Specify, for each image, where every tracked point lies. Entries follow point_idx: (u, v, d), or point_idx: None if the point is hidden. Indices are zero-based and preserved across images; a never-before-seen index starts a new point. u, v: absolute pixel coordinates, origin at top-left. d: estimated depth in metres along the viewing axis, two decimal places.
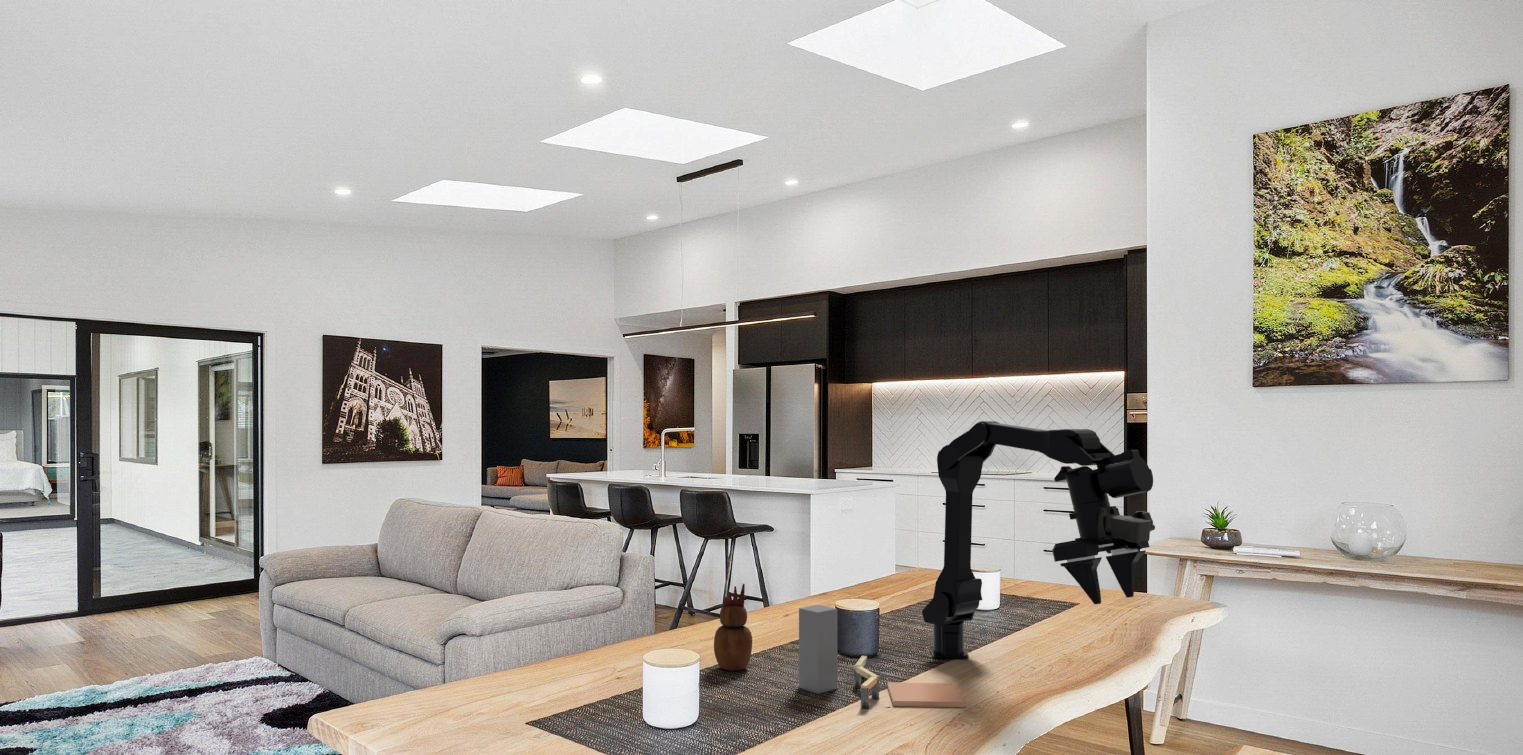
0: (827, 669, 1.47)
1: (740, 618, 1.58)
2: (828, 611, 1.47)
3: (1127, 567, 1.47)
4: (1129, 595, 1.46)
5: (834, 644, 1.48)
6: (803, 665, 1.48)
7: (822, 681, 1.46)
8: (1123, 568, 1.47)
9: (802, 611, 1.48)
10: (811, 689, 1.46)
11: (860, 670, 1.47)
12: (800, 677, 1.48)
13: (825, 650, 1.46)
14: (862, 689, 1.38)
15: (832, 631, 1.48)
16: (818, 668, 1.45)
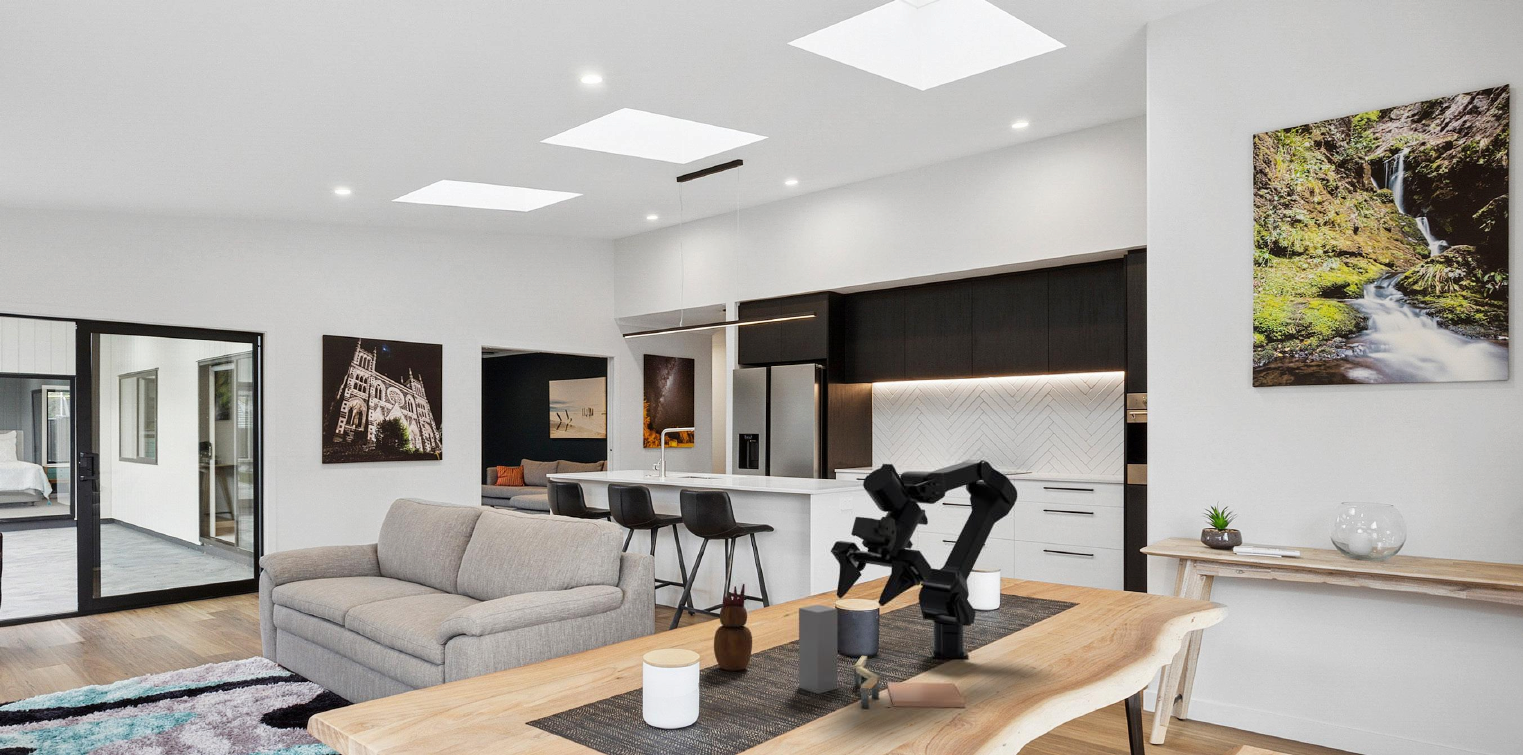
0: (827, 669, 1.47)
1: (740, 618, 1.58)
2: (828, 611, 1.47)
3: None
4: (880, 603, 1.50)
5: (834, 644, 1.48)
6: (803, 665, 1.48)
7: (822, 681, 1.46)
8: None
9: (802, 611, 1.48)
10: (811, 689, 1.46)
11: (860, 670, 1.47)
12: (800, 677, 1.48)
13: (825, 650, 1.46)
14: (862, 689, 1.38)
15: (832, 631, 1.48)
16: (818, 668, 1.45)
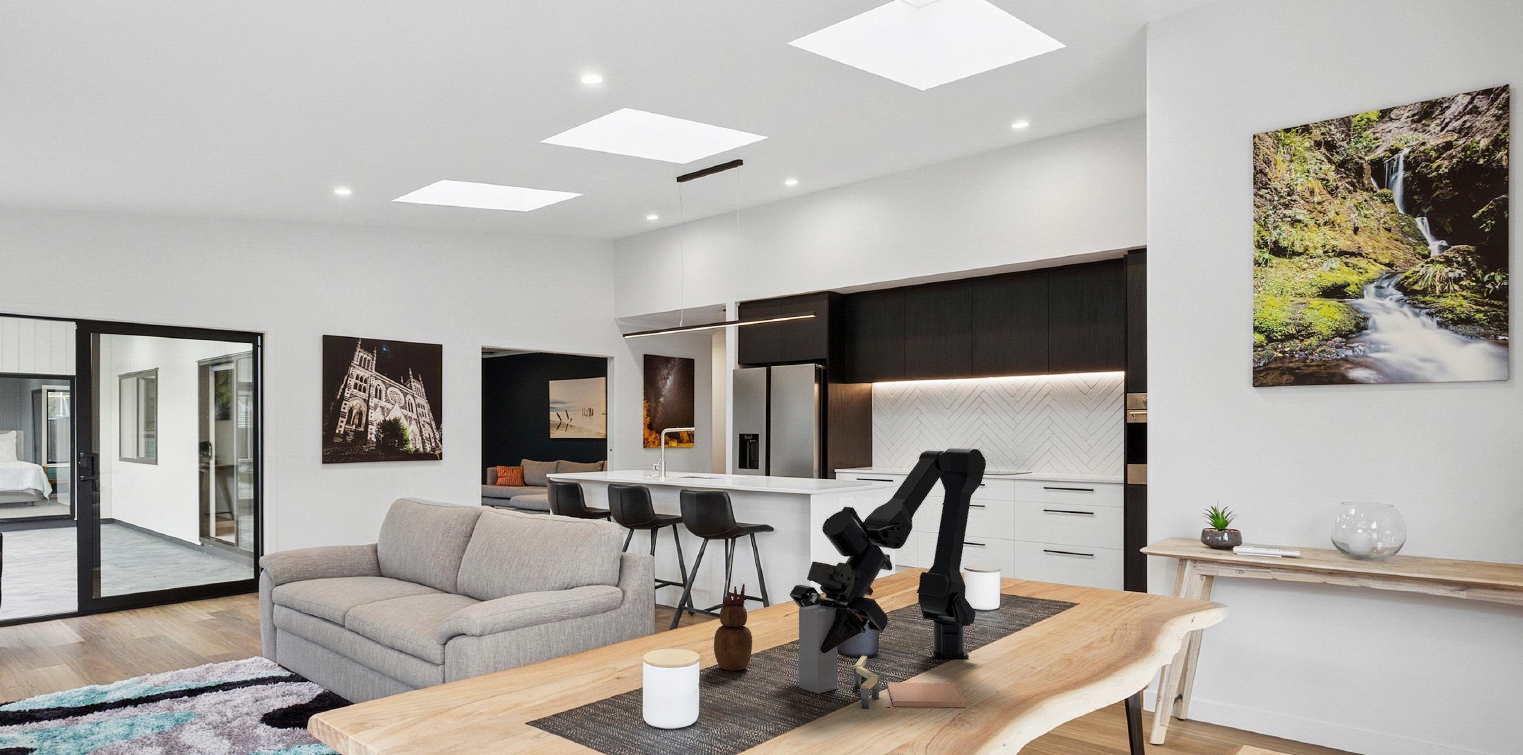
0: (827, 669, 1.47)
1: (740, 618, 1.58)
2: (828, 611, 1.47)
3: None
4: (822, 650, 1.46)
5: None
6: (803, 665, 1.48)
7: (822, 681, 1.46)
8: None
9: (802, 611, 1.48)
10: (811, 689, 1.46)
11: (860, 670, 1.47)
12: (800, 677, 1.48)
13: None
14: (862, 689, 1.38)
15: None
16: (817, 668, 1.45)
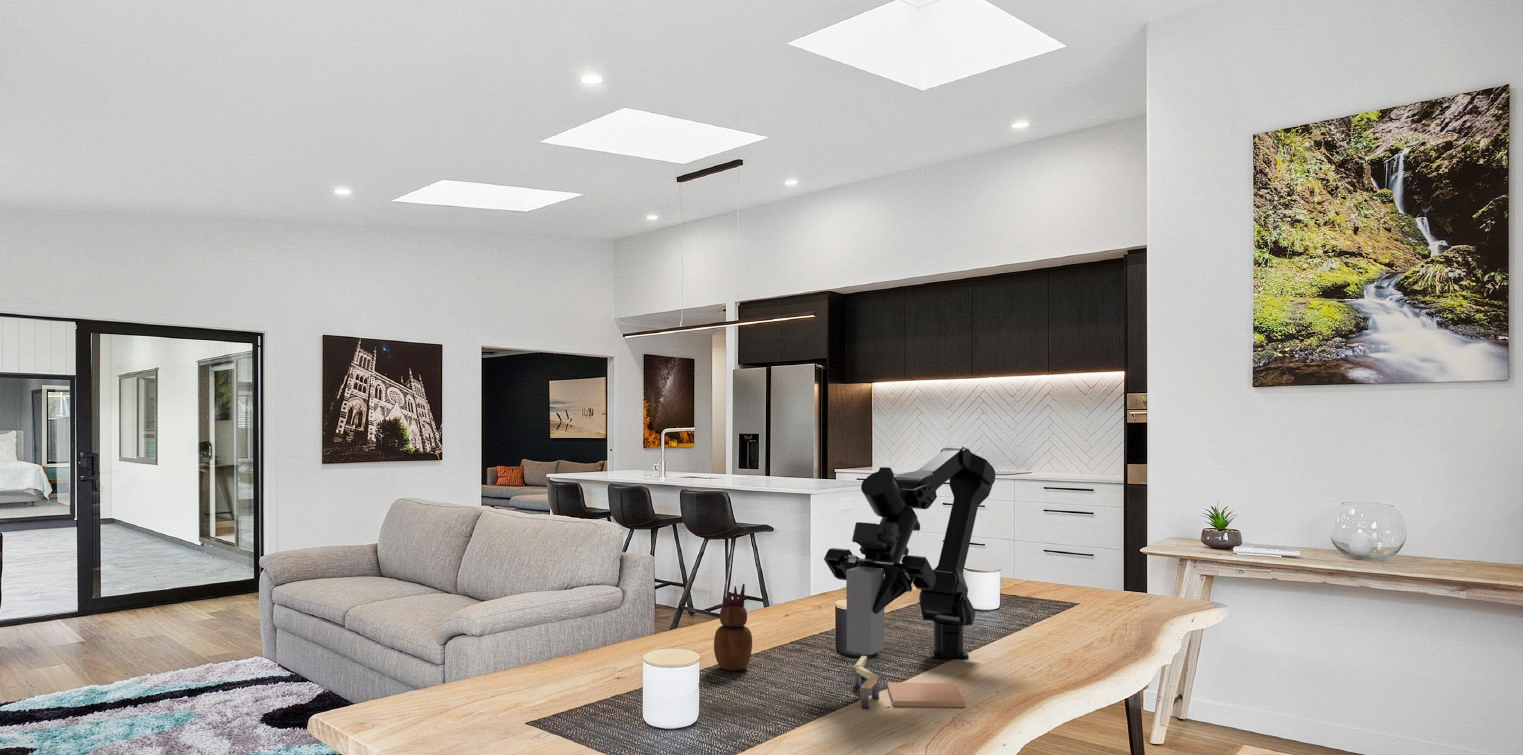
0: (877, 629, 1.45)
1: (740, 618, 1.58)
2: (877, 571, 1.46)
3: None
4: (874, 610, 1.44)
5: None
6: (852, 627, 1.45)
7: (874, 642, 1.44)
8: None
9: (850, 572, 1.46)
10: (862, 650, 1.44)
11: (860, 670, 1.47)
12: (849, 639, 1.46)
13: None
14: (862, 689, 1.38)
15: None
16: (871, 629, 1.43)
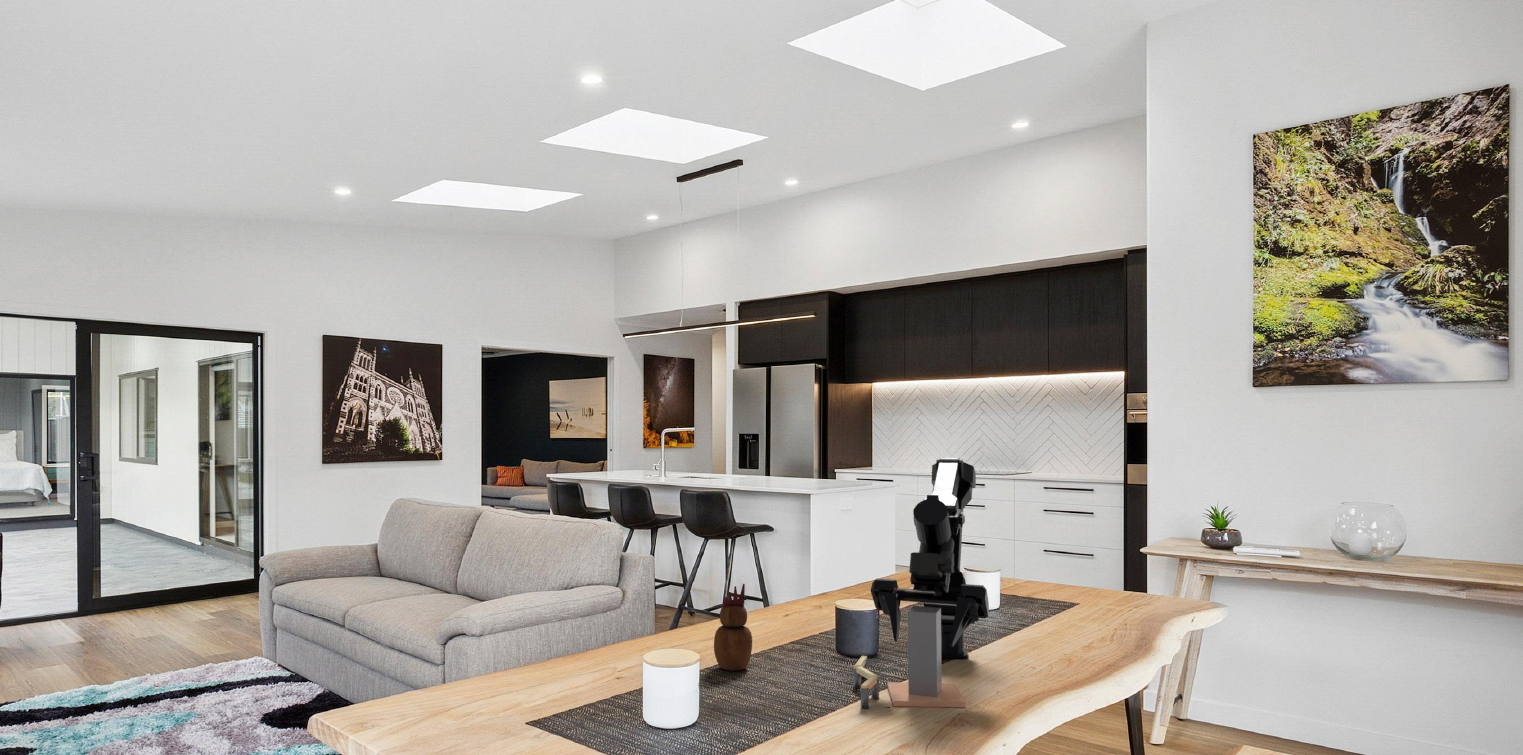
0: (939, 670, 1.43)
1: (740, 618, 1.58)
2: (938, 611, 1.44)
3: None
4: (951, 643, 1.41)
5: (940, 644, 1.44)
6: (915, 670, 1.42)
7: (938, 684, 1.42)
8: None
9: (913, 614, 1.42)
10: (927, 694, 1.41)
11: (860, 670, 1.47)
12: (911, 683, 1.42)
13: (938, 651, 1.42)
14: (862, 689, 1.38)
15: (939, 631, 1.44)
16: (936, 671, 1.41)
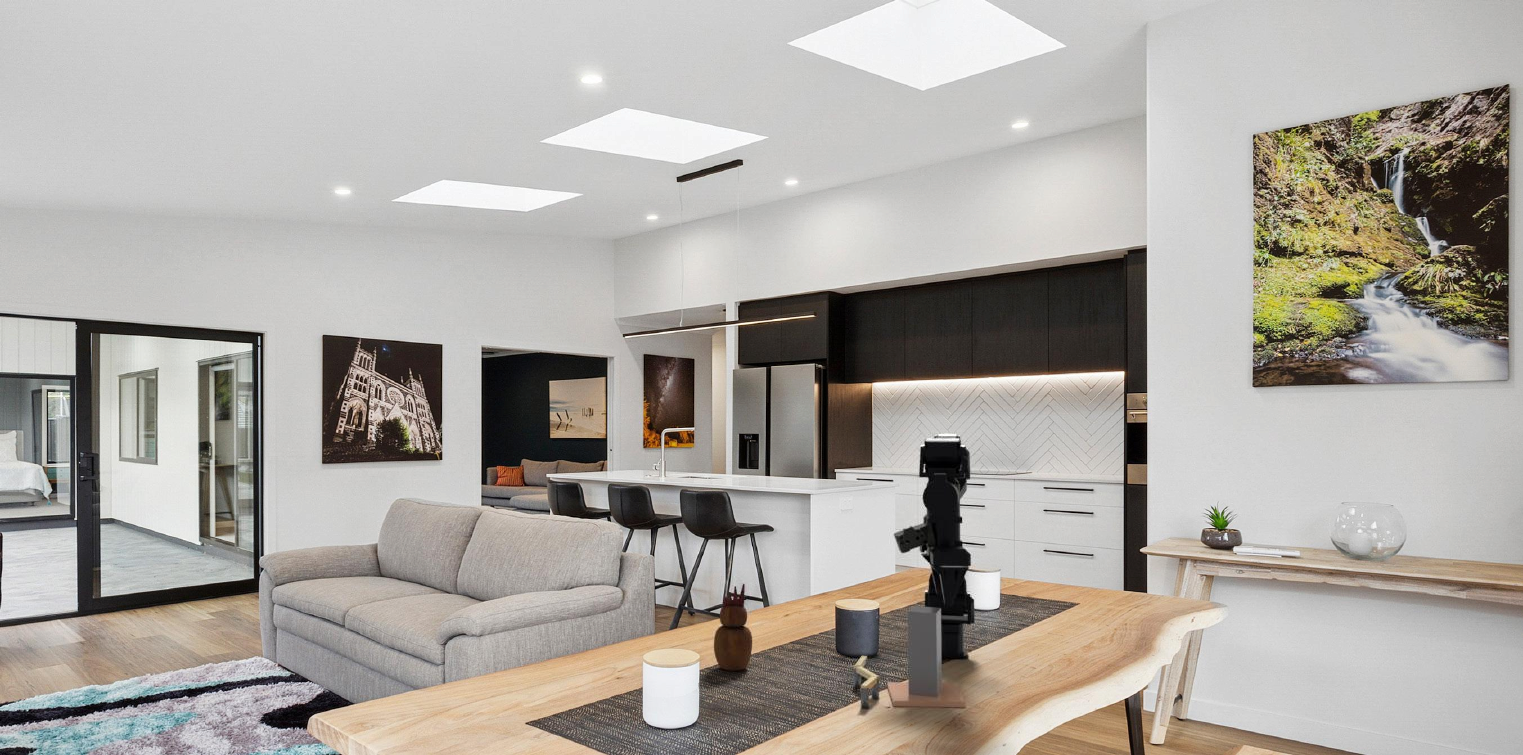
0: (939, 670, 1.43)
1: (740, 618, 1.58)
2: (938, 611, 1.44)
3: None
4: (947, 604, 1.51)
5: (940, 644, 1.44)
6: (915, 670, 1.42)
7: (938, 684, 1.42)
8: None
9: (913, 614, 1.42)
10: (927, 694, 1.41)
11: (860, 670, 1.47)
12: (911, 683, 1.42)
13: (938, 651, 1.42)
14: (862, 689, 1.38)
15: (939, 631, 1.44)
16: (936, 671, 1.41)
